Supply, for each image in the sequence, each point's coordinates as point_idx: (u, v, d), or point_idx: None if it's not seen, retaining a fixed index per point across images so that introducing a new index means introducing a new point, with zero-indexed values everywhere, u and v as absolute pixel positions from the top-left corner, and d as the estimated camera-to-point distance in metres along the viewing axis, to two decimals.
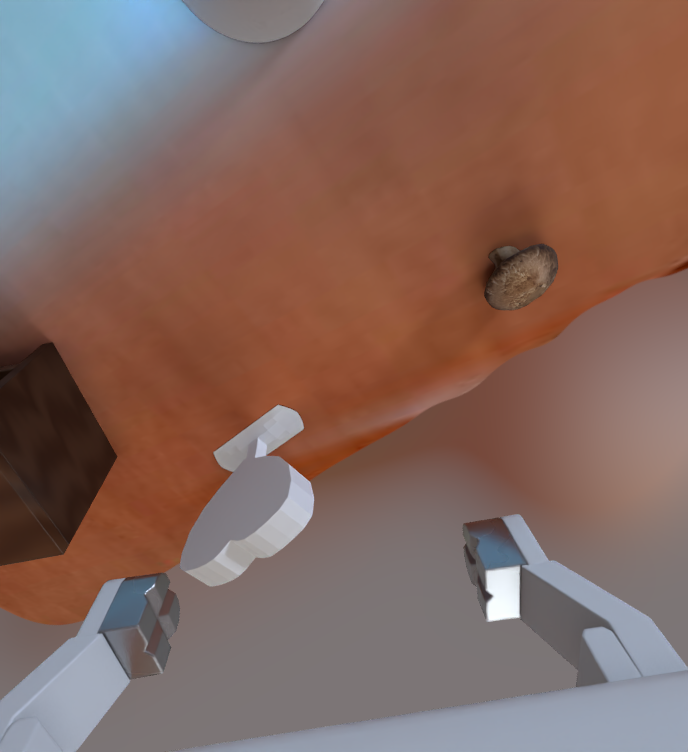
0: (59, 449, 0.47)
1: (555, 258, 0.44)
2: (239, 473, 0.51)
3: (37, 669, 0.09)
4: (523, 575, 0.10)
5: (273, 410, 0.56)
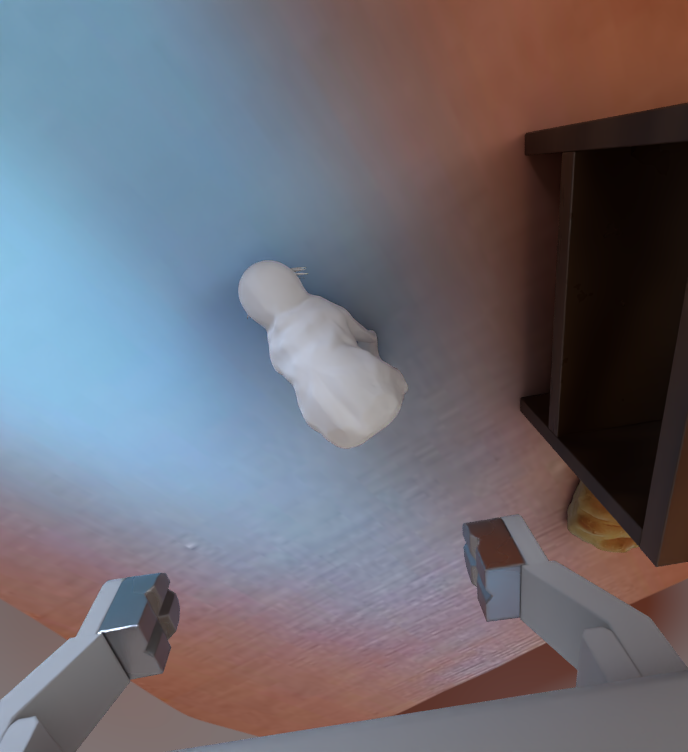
0: None
1: None
2: None
3: (37, 669, 0.09)
4: (523, 575, 0.10)
5: None
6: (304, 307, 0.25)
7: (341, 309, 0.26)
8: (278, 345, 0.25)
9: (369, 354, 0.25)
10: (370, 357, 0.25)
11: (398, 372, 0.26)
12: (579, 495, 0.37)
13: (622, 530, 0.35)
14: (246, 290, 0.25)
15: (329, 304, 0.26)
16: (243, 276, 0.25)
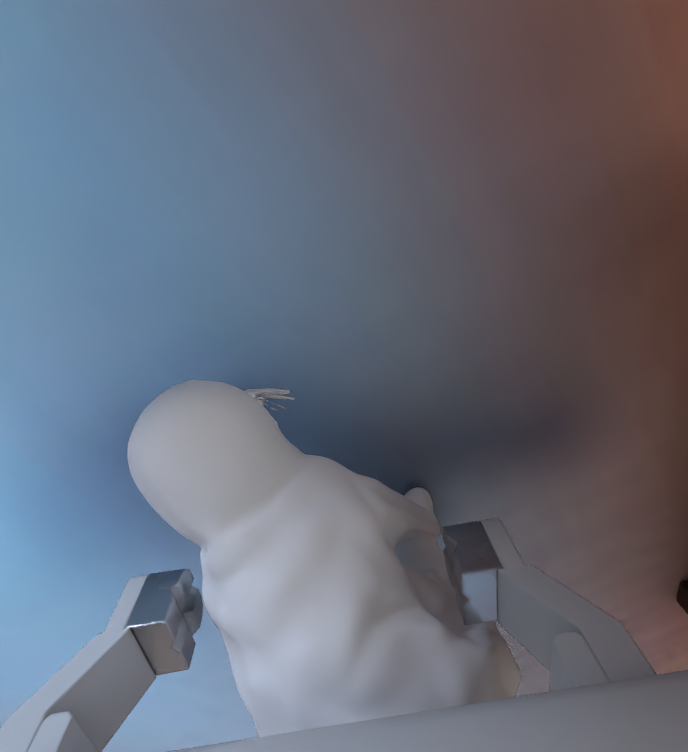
0: None
1: None
2: None
3: (67, 664, 0.09)
4: (499, 579, 0.10)
5: None
6: (283, 512, 0.10)
7: (370, 498, 0.11)
8: (215, 607, 0.10)
9: (444, 641, 0.10)
10: (448, 654, 0.10)
11: (503, 650, 0.11)
12: None
13: None
14: (137, 469, 0.10)
15: (343, 491, 0.11)
16: (135, 429, 0.10)
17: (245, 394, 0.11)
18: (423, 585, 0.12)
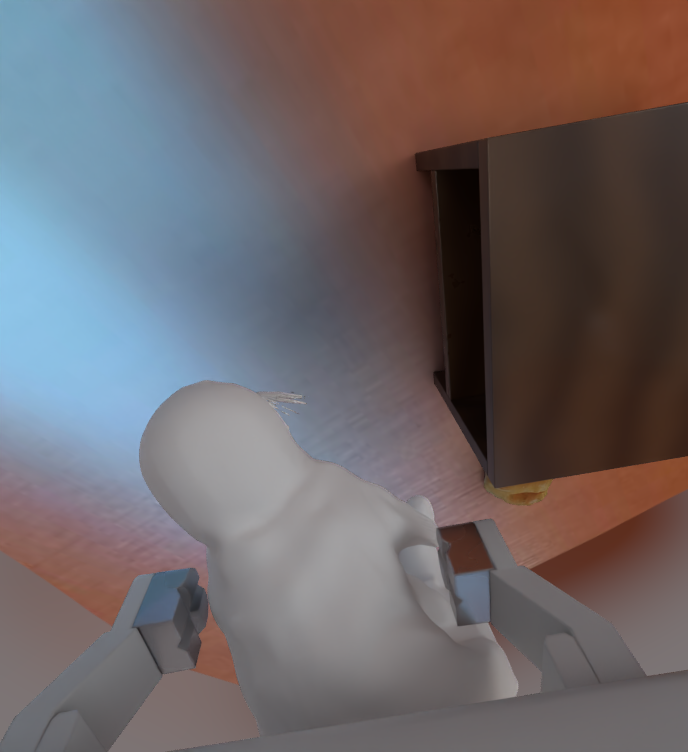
0: None
1: None
2: None
3: (74, 663, 0.09)
4: (491, 580, 0.10)
5: None
6: (294, 517, 0.10)
7: (378, 505, 0.11)
8: (222, 609, 0.10)
9: (448, 650, 0.10)
10: (452, 663, 0.10)
11: (502, 660, 0.11)
12: None
13: (524, 485, 0.42)
14: (150, 468, 0.10)
15: (352, 498, 0.11)
16: (149, 428, 0.10)
17: (259, 397, 0.11)
18: (424, 593, 0.12)
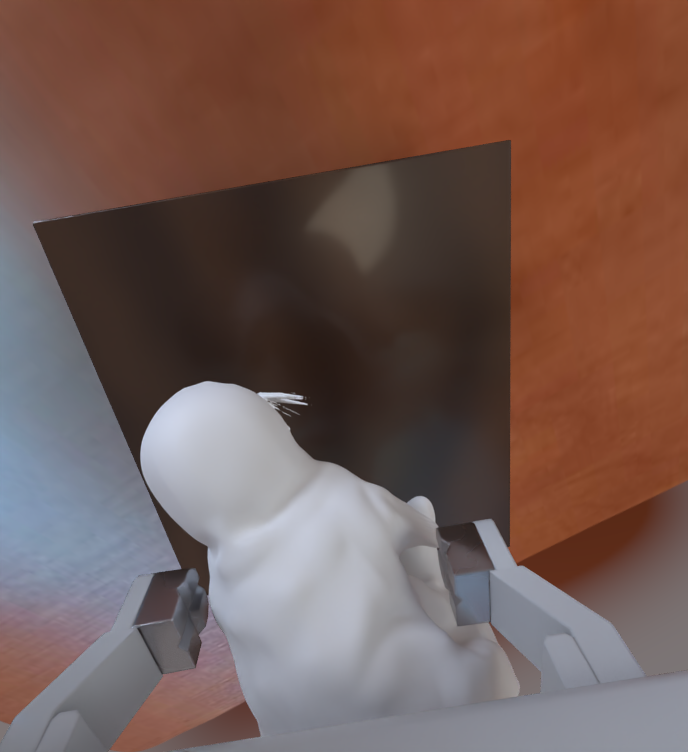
0: None
1: None
2: None
3: (74, 663, 0.09)
4: (491, 580, 0.10)
5: None
6: (295, 519, 0.10)
7: (380, 506, 0.11)
8: (223, 610, 0.10)
9: (450, 652, 0.10)
10: (453, 664, 0.10)
11: (503, 661, 0.11)
12: None
13: None
14: (151, 469, 0.10)
15: (354, 499, 0.11)
16: (150, 429, 0.10)
17: (260, 398, 0.11)
18: (426, 594, 0.12)
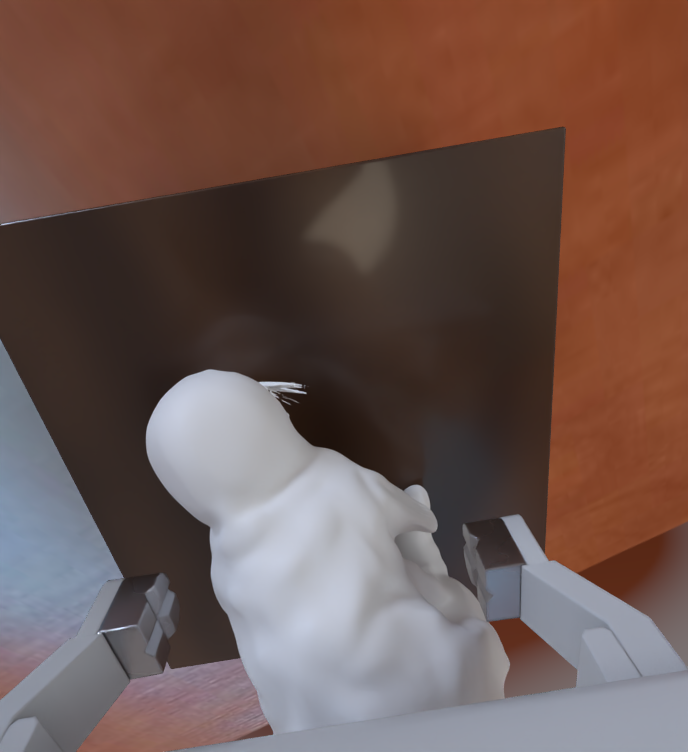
0: None
1: None
2: None
3: (37, 669, 0.09)
4: (523, 575, 0.10)
5: None
6: (294, 499, 0.11)
7: (375, 490, 0.12)
8: (225, 586, 0.11)
9: (441, 626, 0.10)
10: (444, 638, 0.10)
11: (494, 639, 0.12)
12: None
13: None
14: (157, 451, 0.11)
15: (350, 482, 0.11)
16: (156, 413, 0.11)
17: (260, 386, 0.12)
18: (420, 576, 0.13)
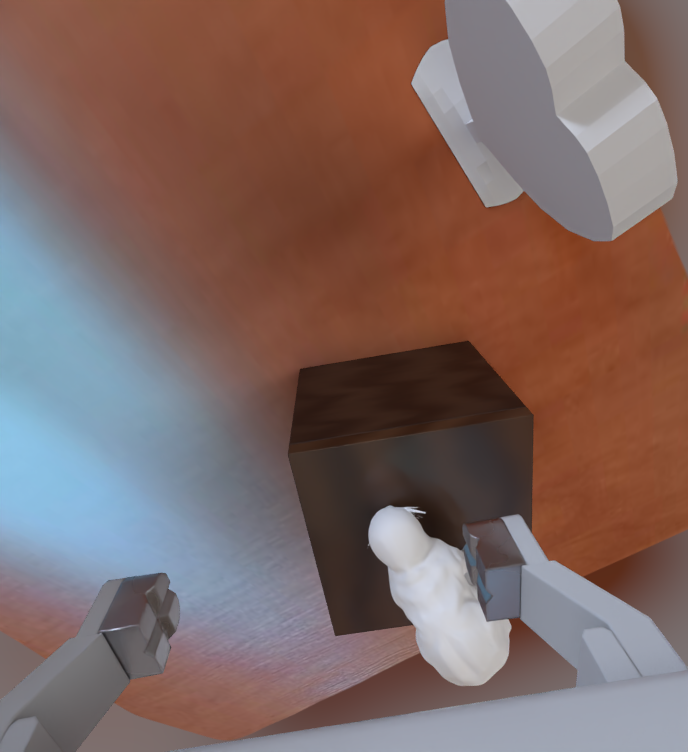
0: (401, 387, 0.37)
1: None
2: (490, 139, 0.30)
3: (37, 669, 0.09)
4: (523, 575, 0.10)
5: (420, 93, 0.35)
6: (430, 562, 0.29)
7: (457, 557, 0.30)
8: (405, 594, 0.29)
9: None
10: None
11: None
12: None
13: None
14: (380, 545, 0.29)
15: (448, 554, 0.30)
16: (377, 529, 0.29)
17: (411, 515, 0.30)
18: (473, 591, 0.31)
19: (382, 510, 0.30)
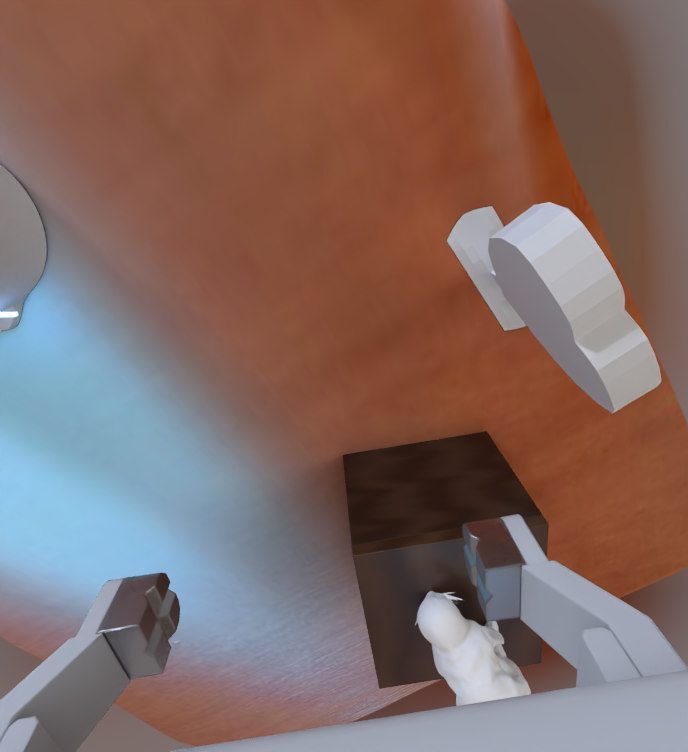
0: (436, 484, 0.44)
1: None
2: (515, 305, 0.37)
3: (37, 669, 0.09)
4: (523, 575, 0.10)
5: (454, 247, 0.42)
6: (468, 644, 0.37)
7: (488, 637, 0.38)
8: (449, 669, 0.36)
9: (512, 681, 0.36)
10: (513, 685, 0.36)
11: (525, 683, 0.38)
12: None
13: None
14: (429, 631, 0.36)
15: (482, 635, 0.37)
16: (426, 618, 0.37)
17: (452, 603, 0.38)
18: (500, 661, 0.39)
19: (428, 599, 0.38)
